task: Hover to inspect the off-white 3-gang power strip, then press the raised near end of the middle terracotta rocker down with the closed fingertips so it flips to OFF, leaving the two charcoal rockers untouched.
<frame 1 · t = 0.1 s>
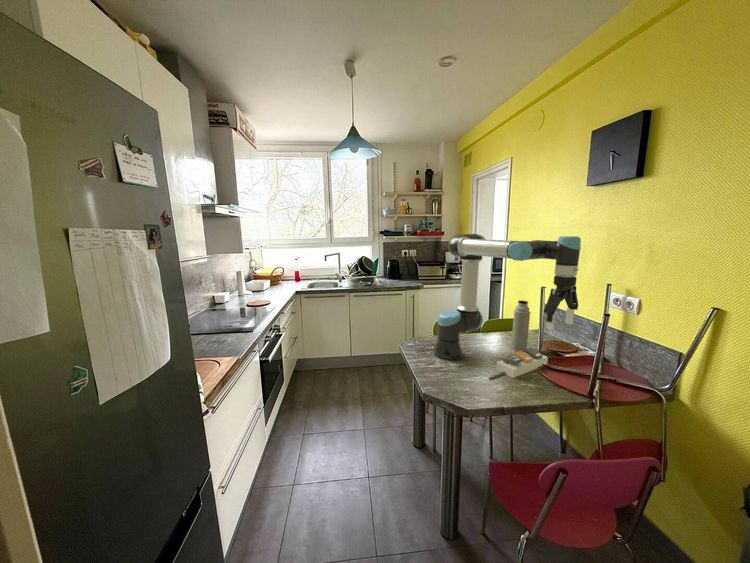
hand: (559, 326, 120), 28 cm above the table, fingers open, 13 cm apart
rocker 1: (512, 360, 140), point 6 cm above the table, hinge at -12.0°
rocker 2: (523, 356, 144), point 6 cm above the table, hinge at 12.0°
rocker 3: (533, 353, 148), point 6 cm above the table, hinge at 12.0°
power strip: (522, 367, 145), on the table
thermos bottle: (518, 349, 167), on the table
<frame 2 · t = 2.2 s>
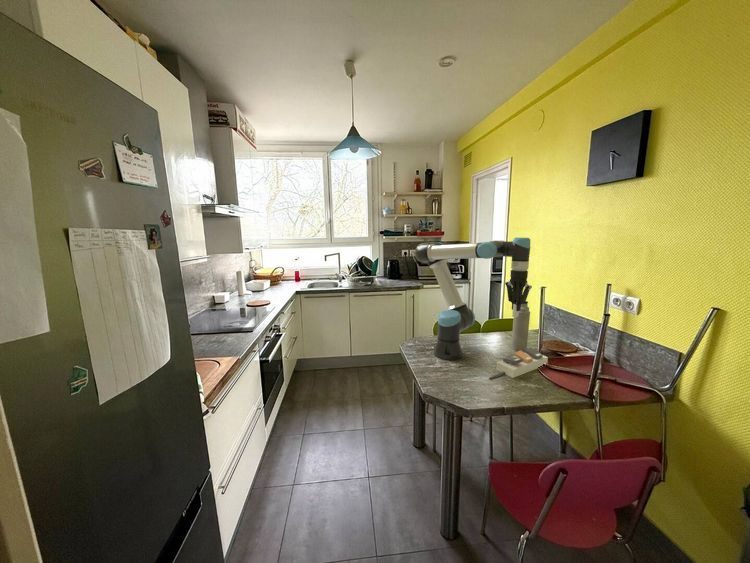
hand: (515, 316, 146), 24 cm above the table, fingers closed
nothing on the table moved.
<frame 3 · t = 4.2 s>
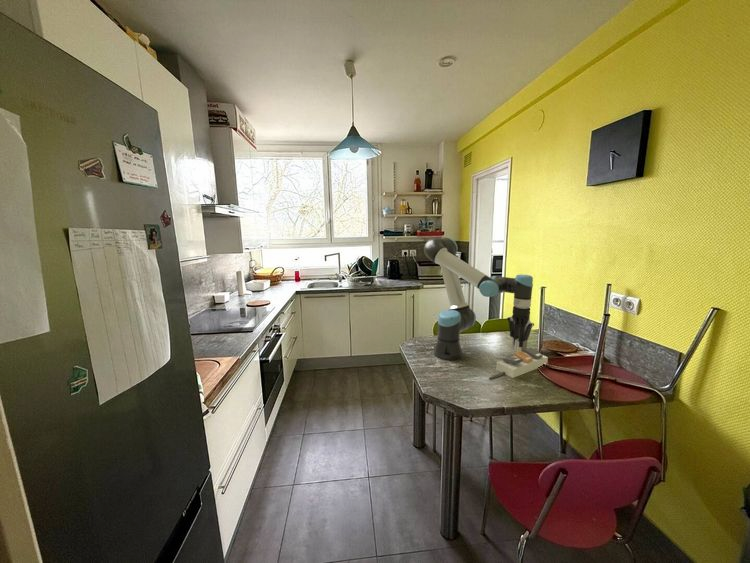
hand: (517, 352, 147), 7 cm above the table, fingers closed
rocker 2: (523, 356, 144), point 6 cm above the table, hinge at 11.7°, touching gripper
everything else where it was.
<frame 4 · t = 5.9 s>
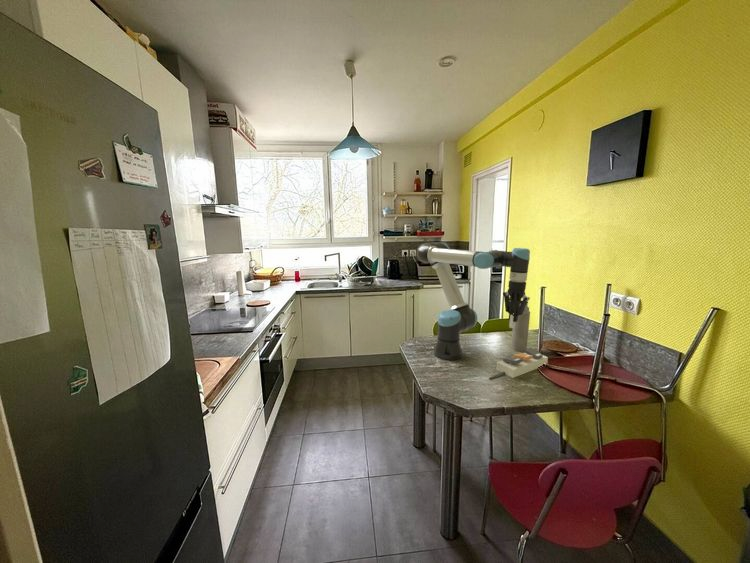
hand: (511, 327, 145), 19 cm above the table, fingers closed
rocker 2: (523, 356, 144), point 6 cm above the table, hinge at -11.8°
everything else where it was.
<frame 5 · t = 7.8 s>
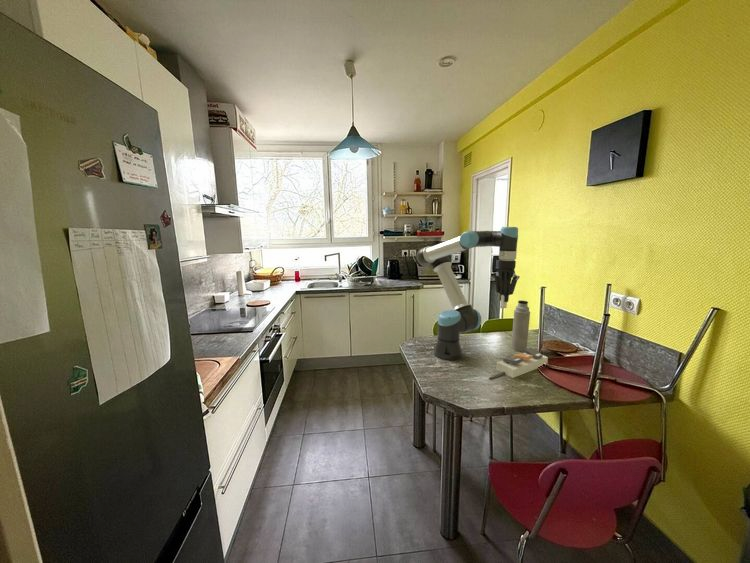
hand: (503, 307, 143), 29 cm above the table, fingers closed
rocker 2: (523, 356, 144), point 6 cm above the table, hinge at -13.5°
everything else where it was.
at the end: rocker 2 at -14° (first picture: +12°); rocker 3 at +12° (first picture: +12°); rocker 1 at -12° (first picture: -12°) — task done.
